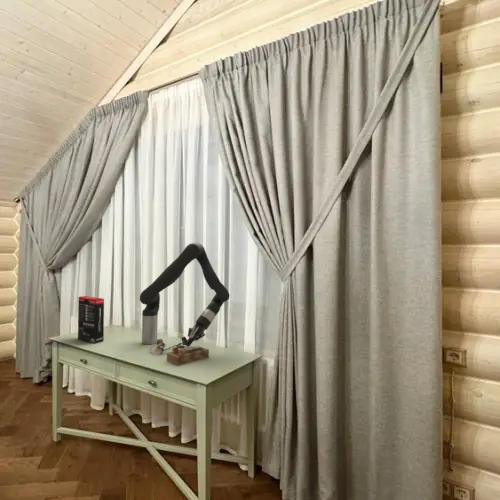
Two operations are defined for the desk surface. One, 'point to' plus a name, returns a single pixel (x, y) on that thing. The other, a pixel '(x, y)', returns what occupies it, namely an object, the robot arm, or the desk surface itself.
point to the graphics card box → (91, 319)
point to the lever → (188, 347)
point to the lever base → (186, 355)
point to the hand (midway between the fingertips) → (187, 345)
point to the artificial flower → (160, 346)
